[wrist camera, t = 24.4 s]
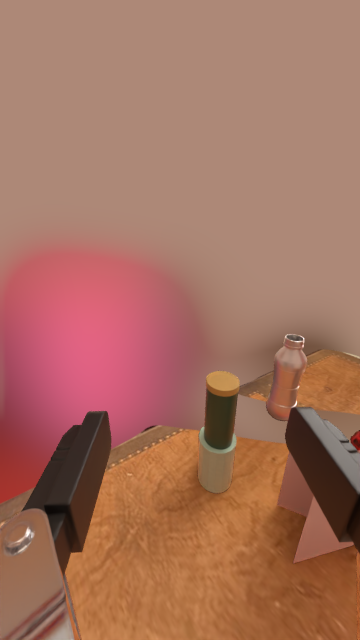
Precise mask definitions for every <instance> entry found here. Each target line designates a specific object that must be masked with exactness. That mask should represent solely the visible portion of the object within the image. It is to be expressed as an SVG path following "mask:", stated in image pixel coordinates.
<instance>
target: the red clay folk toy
mask: <svg viewBox="0 0 360 640" xmlns="http://www.w3.org/2000/svg"><path fill="white" fill-rule="evenodd" d="M350 440H351V443H352V445H353V446H354V447H355V448H356V449H357V450H358V451H360V430H359V431H358V432H356V433H355V434H354V435H353V436H352V437H351V439H350Z"/></svg>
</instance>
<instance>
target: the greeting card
mask: <svg viewBox="0 0 360 640" xmlns="http://www.w3.org/2000/svg"><path fill="white" fill-rule="evenodd" d="M357 451H358V450H357ZM358 453H360V451H358ZM277 505H278V506H281V507H283V508H286V509H288V510H291V511H293V512H295V513H298V514H300V515H303V516H305V517H307V518H306V522H305V525H304V528H303V531H302V535H301V538H300V541H299V544H298V548H297V551H296V554H295V558H294V561H293V563H296V562H300V561H303V560H306V559H310V558H313V557H316V556H319V555H323V554H326V553H329V552H333V551H336V550H339V549H343V548H346V547H349V546H352V545H354V543H353V542H339V541H338V539H337V537H336V536H335V534H334V532H333V530H332V528H331V526H330V525H329V523H328V521H327V519H326V517H325V515H324V514H323V512H322V510H321V508H320V506H319V504H318V503H317V501H316V499H315V497H314V495H313V493H312V492H311V490H310V488H309V486H308V484H307V483H306V481H305V479H304V477H303V475H302V473H301V472H300V470H299V468H298V466H297V464H296V462H295V461H294V459H293V457H292V455H291V453H290V451H289V455H288V460H287V464H286V468H285V473H284V477H283V481H282V486H281V490H280V495H279V499H278V503H277Z"/></svg>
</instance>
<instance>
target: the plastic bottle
mask: <svg viewBox="0 0 360 640" xmlns="http://www.w3.org/2000/svg"><path fill="white" fill-rule="evenodd" d="M283 345H284V347H283V348H281V349H280V350H279V351H278V352H277V353H276V355H275V358H274V377H273V384H272V387H271V391H270V394H269V396H268V398H267V401H266V408H267V411H268V413H269V414H270V415H271V416H272V417H273V418H275V419H277V420H280V421H288V419H289V414H290V410H291V408H293V407H297V394H298V388H299V385H300V381H301V378H302V376H303V374H304V371H305V369H306V366H307V358H306V356H305V354H304V352H303V351H302V349H303V347H304V338H303V337H301V336H299V335H294V334H288V335H286V336H285V341H284V343H283Z"/></svg>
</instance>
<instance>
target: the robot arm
mask: <svg viewBox="0 0 360 640" xmlns="http://www.w3.org/2000/svg"><path fill="white" fill-rule="evenodd" d="M285 439H286V444H287V447H288V449H289V451H290V453H291V455H292V457H293V459H294V461H295V462H296V464H297V466H298V468H299V470H300V472H301V473H302V475H303V477H304V479H305V481H306V483H307V484H308V486H309V488H310V490H311V492H312V493H313V495H314V497H315V499H316V501H317V503H318V504H319V506H320V508H321V510H322V512H323V514H324V515H325V517H326V519H327V521H328V523H329V525H330V526H331V528H332V530H333V532H334V534H335V536H336V537H337V539H338V541H339V542H353V543H354V545H355V547H356V548H357V550H358V552H357V555H356V579H357V636H356V640H360V453H358V451H357V449H356V448H355V447H354V446H353V445H352V443H349V440H348V439H347V438H346V437H345V435H344V434H343V433H342V432H341V431H340V430H339V429H338V428H337V427H335V426H334V425H333V424H331V423H330V422H329V421H327V420H322V419H321V418H320V416H319V415H318V414H317V413H316V411H315V410H314V409H313V408H311V407H293V408H291V410H290V414H289V419H288V424H287V429H286V433H285ZM110 450H111V432H110V426H109V418H108V413H107V411H93V412H91V411H90V412H88V413H87V415H86V416H85V418H84V421H83V423H82V425H74V426H73V427H72V428H71V429H69V430H68V431H67V433H65V434H64V435H63V437H62V439H61V441H60V443H59V444H58V446H57V448H56V451H55V452H54V454H53V456H52V457H51V461H49V463H48V465H47V466H46V468H45V470H44V472H43V474H42V476H41V478H40V479H39V481H38V483H37V485H36V487H35V489H34V490H33V492H32V494H31V496H30V498H29V500H28V502H27V503H26V505H25V507H24V508H23V510H22V511H21V512H20V513H18V514H16V515H15V516H13V517H12V518H10V519H9V520H8V521H7V522H6V523H5V524H4V525H3V526H2V527H1V528H0V640H82V639H81V635H80V631H79V627H78V622H77V618H76V614H75V610H74V606H73V602H72V598H71V594H70V590H69V586H68V582H67V578H66V574H65V570H66V567H67V564H68V560H69V557H70V554H71V553H73V552H82V550H83V546H84V543H85V539H86V536H87V532H88V529H89V525H90V522H91V518H92V515H93V511H94V508H95V504H96V500H97V497H98V493H99V490H100V486H101V483H102V479H103V476H104V472H105V469H106V465H107V462H108V458H109V455H110Z"/></svg>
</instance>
